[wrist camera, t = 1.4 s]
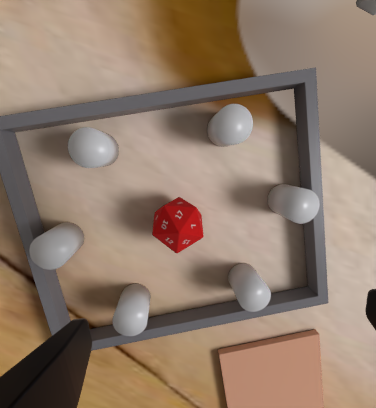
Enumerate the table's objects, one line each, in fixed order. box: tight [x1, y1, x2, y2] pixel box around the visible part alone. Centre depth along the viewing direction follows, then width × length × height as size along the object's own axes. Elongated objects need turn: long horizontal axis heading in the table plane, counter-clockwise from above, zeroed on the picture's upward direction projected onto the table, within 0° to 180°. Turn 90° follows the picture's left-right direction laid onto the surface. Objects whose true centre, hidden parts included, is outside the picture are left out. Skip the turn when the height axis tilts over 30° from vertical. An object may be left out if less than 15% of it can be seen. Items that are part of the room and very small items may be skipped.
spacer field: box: [0, 68, 328, 351], centre depth 17 cm, size 22×18×3 cm
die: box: [152, 197, 203, 253], centre depth 17 cm, size 4×4×4 cm
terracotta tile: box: [218, 330, 324, 408], centre depth 22 cm, size 9×9×1 cm
